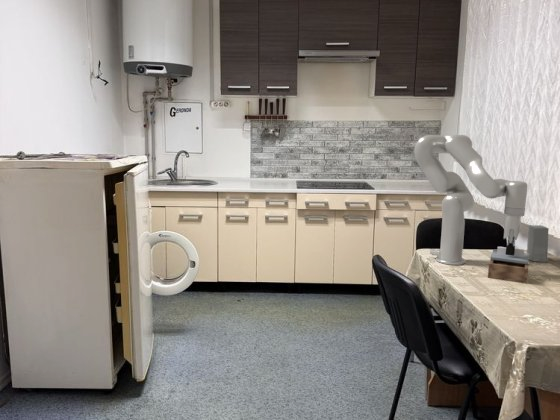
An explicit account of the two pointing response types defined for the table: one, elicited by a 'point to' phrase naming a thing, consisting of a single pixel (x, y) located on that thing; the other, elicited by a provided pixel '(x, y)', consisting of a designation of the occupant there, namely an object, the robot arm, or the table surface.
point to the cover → (510, 256)
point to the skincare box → (537, 243)
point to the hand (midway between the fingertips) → (509, 254)
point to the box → (508, 271)
